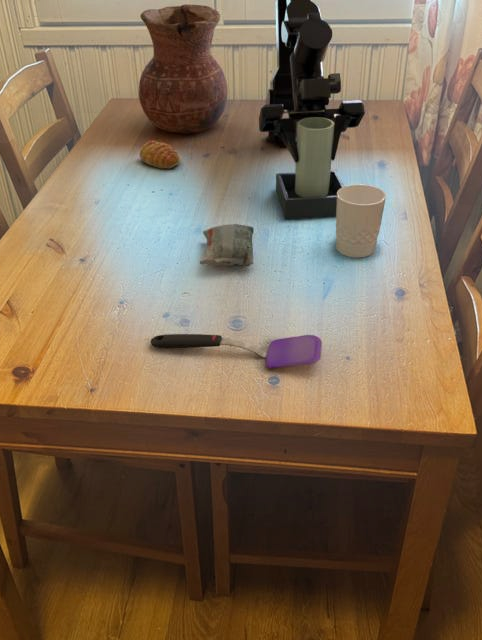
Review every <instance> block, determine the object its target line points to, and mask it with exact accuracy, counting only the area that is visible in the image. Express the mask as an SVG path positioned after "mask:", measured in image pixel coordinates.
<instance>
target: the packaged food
mask: <svg viewBox="0 0 482 640" xmlns="http://www.w3.org/2000/svg"><path fill="white" fill-rule="evenodd" d="M254 231H255V230H254V227H253V226H251V225H244V224H238V223H234V224H233V223H232V224H231V223H230V224H222V225H217V226H213V227H210V228H208V229H205V230H203V232H202V234H203V236H204V237H205V239H206V250H205V252H204V255H203V257H202V259H201V260H200V261H199V264H200V265H202V266H204V265H205V266H210V267H240V268H241V267H242V268H245V267H249V266H251V265H253V264H254V252H253V251H254V248H253V235H254Z"/></svg>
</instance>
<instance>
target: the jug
mask: <svg viewBox="0 0 482 640" xmlns="http://www.w3.org/2000/svg"><path fill="white" fill-rule="evenodd" d="M140 19H141V21H142V22H143V23H144V25H145V26H146V28H147V30H148V33H149V37H150V39H151V43H152V47H153V56H152V58H151V59H150V60H149V61H148V63H147V64H146V65H145V67H144V69H143V70H142V73H141V74H140V78H139V83H138V99H139V103H140V106H141V109H142V111H143V113H144V114H145V116H146V117H147V119H148V120H149V121H150V122H151V123H152V125H154V126H156V127H157V128H158V129H160V130H162V131H163V132H164V131H165V132H167V133H173V134H183V135H184V134H185V135H187V134H197V133H198V134H199V133H201V132H204V131H207V130H209V129H211V128H212V127H213V126H214V125H215V124H216V123H217V122H218V121H219V120H220V118H221V116H222V115H223V113H224V111H225V108H226V106H227V102H228V82H227V78H226V75H225V72H224V70H223V68H222V66H221V64H219V62H217V60H216V59H215V58H214V57H213V55H212V54H211V47H212V43H213V38H214V33H215V28H216V27H217V25H218V24H219V22H220V21H221V13H220V12H219V11H218V10H217V9H215V8H212V7H210V6H208V5H201V4H188V3H185V4H182V5H175V6H174V5H173V6H165V7H163V8H159V9H154V8H149V9H146V10H144V11H142V12H141V14H140Z"/></svg>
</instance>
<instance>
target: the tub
mask: <svg viewBox="0 0 482 640" xmlns="http://www.w3.org/2000/svg"><path fill="white" fill-rule="evenodd" d="M275 175H276V176H275V195H276V198H277V201H278V204H279V207H280V209H281V213H282V215H283V218H284V220H285V221H289V220H291V221H292V220H309V219H325V218H336V205H337V192H338V190H339V189H341V188H342V187H345V186H346V185H345V184H344V182H343V180H342V178H341V176H340V175H339V172H338V170H336V169H335V170H331V172H330V184H329V192H328V194H327V195H326V196H321V197H301V196H298V195H297V194H296V193H295V172H282V173H281V172H280V173H276V174H275Z"/></svg>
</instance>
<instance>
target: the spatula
mask: <svg viewBox="0 0 482 640" xmlns="http://www.w3.org/2000/svg"><path fill="white" fill-rule="evenodd" d="M150 345H151V346H152V347H154V348H157V349H167V350H168V349H170V350H173V349H175V350H177V349H178V350H179V349H196V348H197V349H198V348H214V347H220V346H232V347H237V348H241V349H244V350H247V351H249V352H252V353H254V354H255V355H257V356H259V357H260V358H263V359H265V365H266V367H267V369H279V368H280V369H281V368H288V367H296V366H307V365H313V364H316V363H318V362H320V360H321V358H322V349H323V347H322V345H323V341H322V339H321V338H320V337H319V336H317V335H314V334H303V335H298V336H289V337H283V338H277V339H274V340H272V341H271V342H270V343H269V345H268V348H267V351H266V350H263V349H262V348H260V347H258V346H256V345H254V344H252V343H250V342H247V341H244V340H241V339H237V338H231V337H223V336H222V335H221V334H204V333H203V334H201V333H168V334H159V335H156V336H154V337H152V338H151V339H150Z"/></svg>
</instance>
